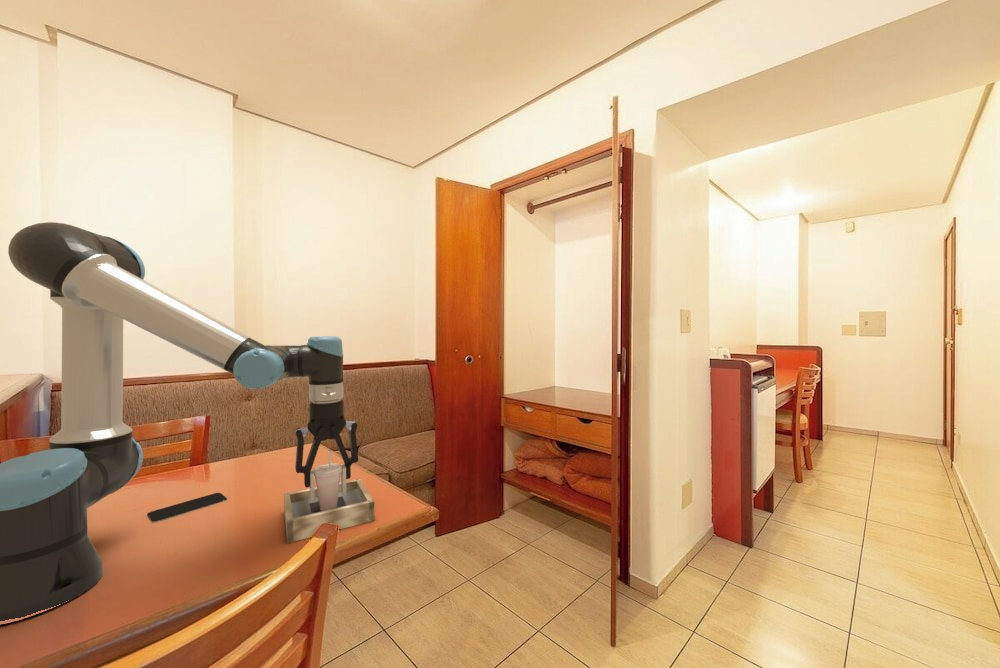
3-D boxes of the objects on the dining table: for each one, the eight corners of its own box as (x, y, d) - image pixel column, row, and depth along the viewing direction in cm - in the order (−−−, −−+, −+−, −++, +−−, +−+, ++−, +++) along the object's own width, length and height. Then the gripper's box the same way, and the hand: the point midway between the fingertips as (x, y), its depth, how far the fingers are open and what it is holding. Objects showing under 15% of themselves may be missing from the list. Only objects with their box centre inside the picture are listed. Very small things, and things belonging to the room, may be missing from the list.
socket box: (287, 543, 80) (286, 522, 80) (284, 512, 94) (283, 494, 94) (374, 520, 90) (374, 501, 90) (360, 494, 103) (360, 478, 103)
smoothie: (334, 514, 88) (333, 454, 88) (307, 513, 89) (307, 454, 89) (347, 502, 95) (347, 446, 94) (323, 500, 95) (322, 445, 95)
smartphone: (228, 499, 101) (152, 522, 89) (228, 501, 101) (152, 524, 89) (219, 491, 105) (146, 512, 93) (219, 494, 105) (146, 515, 93)
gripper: (280, 408, 83) (282, 512, 83) (371, 398, 93) (373, 492, 94) (279, 402, 89) (281, 499, 90) (364, 394, 99) (366, 481, 100)
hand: (328, 495), depth 92 cm, fingers closed on smoothie, 6 cm apart
